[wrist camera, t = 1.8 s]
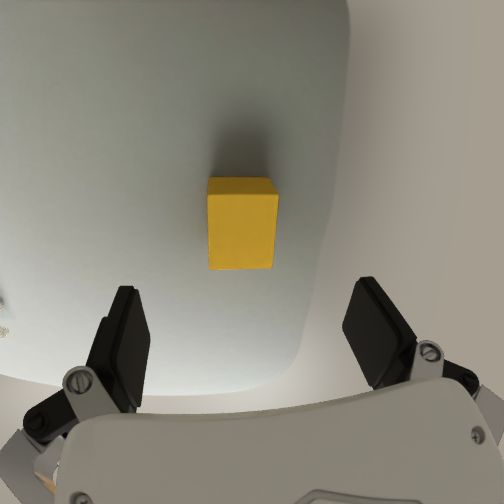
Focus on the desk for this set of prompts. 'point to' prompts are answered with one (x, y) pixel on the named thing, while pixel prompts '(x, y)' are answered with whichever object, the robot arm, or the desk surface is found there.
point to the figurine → (3, 331)
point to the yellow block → (241, 222)
